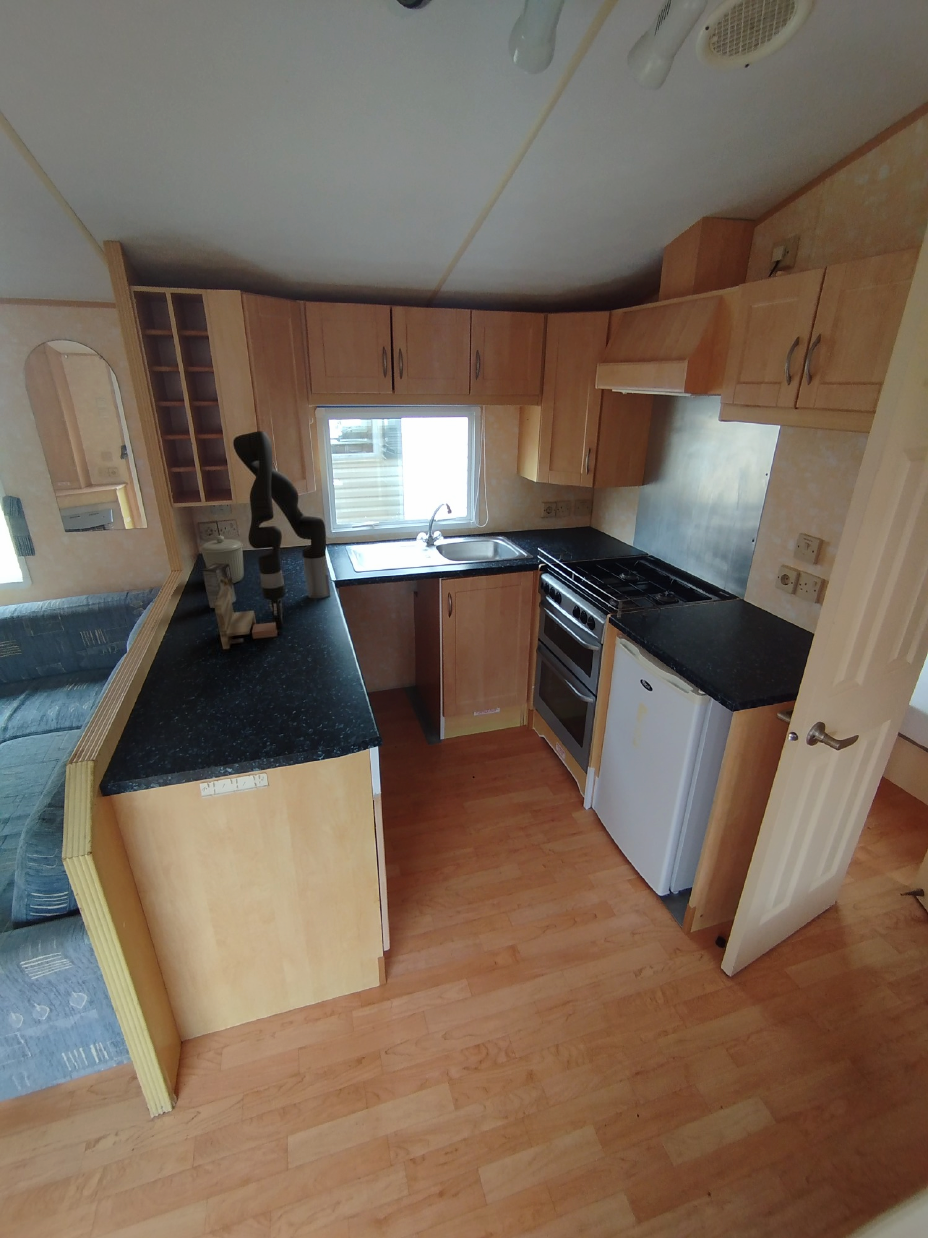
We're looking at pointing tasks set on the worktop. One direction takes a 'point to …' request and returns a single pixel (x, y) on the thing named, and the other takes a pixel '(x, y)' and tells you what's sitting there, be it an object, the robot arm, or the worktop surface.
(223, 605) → the nook
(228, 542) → the canister
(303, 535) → the robot arm
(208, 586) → the coffee box
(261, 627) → the tan cardboard carton
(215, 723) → the worktop surface
